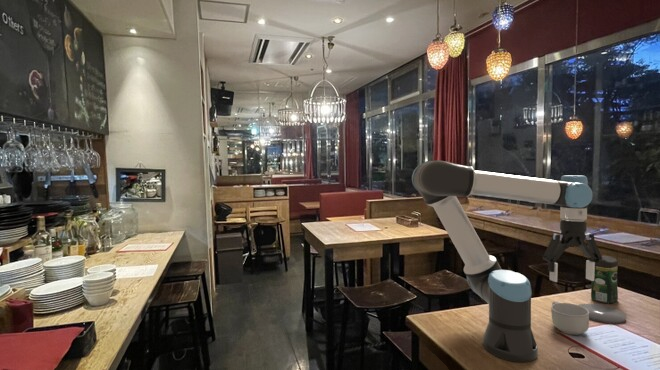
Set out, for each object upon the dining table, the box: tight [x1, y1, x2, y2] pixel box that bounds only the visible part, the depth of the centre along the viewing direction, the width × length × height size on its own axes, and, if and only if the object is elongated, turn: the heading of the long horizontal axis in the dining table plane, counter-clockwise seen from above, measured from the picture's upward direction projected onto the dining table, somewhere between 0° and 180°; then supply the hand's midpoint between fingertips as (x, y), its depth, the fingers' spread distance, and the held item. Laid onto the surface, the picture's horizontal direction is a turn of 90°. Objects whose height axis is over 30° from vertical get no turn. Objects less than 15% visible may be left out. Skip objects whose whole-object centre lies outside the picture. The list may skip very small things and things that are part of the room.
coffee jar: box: [590, 255, 619, 304], centre depth 143 cm, size 10×8×19 cm
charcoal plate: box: [578, 303, 627, 325], centre depth 129 cm, size 15×15×2 cm
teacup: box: [550, 300, 590, 336], centre depth 119 cm, size 14×11×8 cm
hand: (571, 280), depth 119 cm, fingers open, 13 cm apart
